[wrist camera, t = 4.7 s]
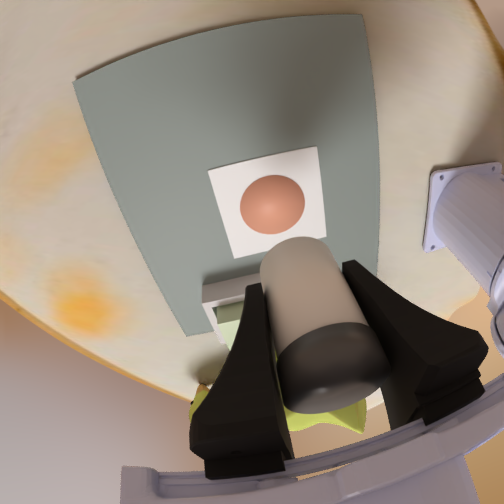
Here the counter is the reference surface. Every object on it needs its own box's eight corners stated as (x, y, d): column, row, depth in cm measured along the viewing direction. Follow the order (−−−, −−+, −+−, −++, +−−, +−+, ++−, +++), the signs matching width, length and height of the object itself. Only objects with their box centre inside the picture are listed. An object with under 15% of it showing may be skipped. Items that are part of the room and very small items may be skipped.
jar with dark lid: (333, 226, 13) (399, 342, 8) (335, 287, 15) (381, 395, 10) (250, 244, 13) (275, 377, 8) (264, 304, 15) (288, 421, 10)
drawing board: (358, 15, 13) (377, 11, 11) (373, 287, 27) (383, 306, 25) (75, 81, 14) (57, 85, 12) (186, 332, 27) (185, 353, 25)
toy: (302, 275, 33) (168, 387, 31) (414, 368, 19) (217, 513, 17) (322, 306, 36) (202, 405, 35) (418, 391, 22) (255, 514, 21)
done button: (259, 290, 23) (263, 314, 21) (266, 318, 25) (271, 341, 23) (216, 300, 23) (217, 324, 21) (227, 327, 25) (229, 350, 23)
